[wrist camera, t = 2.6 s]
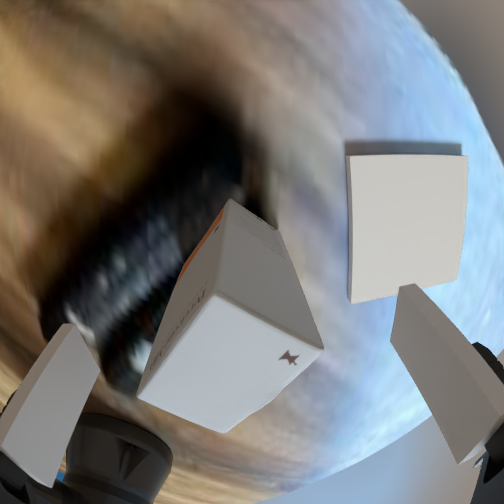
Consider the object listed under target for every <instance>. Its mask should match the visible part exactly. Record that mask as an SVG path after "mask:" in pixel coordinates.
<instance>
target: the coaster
mask: <svg viewBox="0 0 504 504" xmlns="http://www.w3.org/2000/svg"><path fill="white" fill-rule="evenodd" d="M345 157H346V171H347V189H348V217H349V275H348V300H349V302H350V303H351V304H354V303H360V302H365V301H369V300H374V299H379V298H384V297H388V296H393V295H397V294H398V290H399V286H404V285H409V284H413V283H415V284H416V285H417V286H418V287H419V288H420V289H423V288H427V287H431V286H435V285H439V284H443V283H447V282H451V281H454V280H457V275H458V270H459V264H460V258H461V252H462V245H463V238H464V229H465V220H466V208H467V192H468V156H463V155H445V154H368V155H346V156H345Z"/></svg>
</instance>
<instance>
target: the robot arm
mask: <svg viewBox="0 0 504 504" xmlns="http://www.w3.org/2000/svg"><path fill="white" fill-rule="evenodd" d="M390 342H391V343H392V345H393V347H394V348H395V350H396V352H397V353H398V355H399V357H400V358H401V360H402V362H403V363H404V365H405V367H406V368H407V370H408V372H409V373H410V375H411V377H412V379H413V380H414V382H415V384H416V385H417V387H418V389H419V391H420V393H421V394H422V396H423V398H424V400H425V402H426V403H427V405H428V407H429V409H430V411H431V413H432V414H433V416H434V418H435V420H436V422H437V424H438V426H439V427H440V430H441V432H442V433H443V435H444V437H445V439H446V441H447V443H448V445H449V447H450V449H451V451H452V454H453V455H454V458H455V460H456V462H457V464H458V465H459V464H461V463H463V462H464V461H466V460H468V459H470V458H472V457H473V456H475V455H476V454H477V453H478V452H479V451H480V450H481V448H483V447H484V446H485V448H486V450H487V451H486V452H485V453H484V454H483V455H482V456H481V457H480V458H479V459H478V460H477V461H476V463H475V465H474V468H476V467H477V466H478V465H479V464H480V463H481V462H482V465H481V467H480V469H481V470H480V474H479V477H478V481H477V484H476V488H475V491H474V494H473V497H472V500H471V503H470V504H504V369H503V365H502V364H501V363H500V362H499V361H497V358H496V357H495V356H494V354H493V353H492V352H491V351H490V350H489V349H488V348H486V347H485V346H483V345H482V344H480V343H478V342H476V343H474V344H471V343H470V342H469V341H468V340H467V339H466V337H465V336H464V335H463V334H462V333H461V332H460V331H459V329H458V328H457V327H456V326H455V325H454V324H453V323H452V322H451V321H450V319H449V318H448V317H447V316H446V315H445V314H444V313H443V312H442V311H441V310H440V309H439V307H438V306H437V305H436V304H435V303H434V302H433V301H432V300H431V299H430V298H429V297H428V296H427V295H426V294H425V293H424V292H423V291H422V290H421V289H420V288H419V287H418V286H417V285H416V284H415V283H413V284H409V285H404V286H399V290H398V297H397V304H396V311H395V317H394V322H393V328H392V333H391V338H390ZM99 372H100V369H99V367H98V366H97V364H96V362H95V360H94V359H93V357H92V355H91V353H90V351H89V349H88V347H87V346H86V344H85V342H84V340H83V338H82V336H81V334H80V332H79V330H78V328H77V326H76V324H62V326H61V327H60V328H59V330H58V331H57V332H56V334H55V335H54V336H53V338H52V339H51V341H50V342H49V343H48V345H47V346H46V347H45V349H44V350H43V352H42V353H41V355H40V356H39V357H38V359H37V360H36V362H35V363H34V365H33V366H32V368H31V369H30V371H29V372H28V374H27V375H26V377H25V378H24V380H23V381H22V383H21V384H20V386H19V388H18V389H17V390H16V391H15V392H14V393H13V394H12V395H11V397H10V398H9V400H8V402H7V403H6V404H7V405H5V407H4V408H3V410H2V413H0V504H153V502H154V499H155V497H156V496H157V494H158V492H159V491H160V489H161V487H162V486H163V484H164V482H165V480H166V479H167V477H168V475H169V473H170V471H171V467H172V460H173V455H172V452H171V450H170V449H169V448H168V447H167V446H166V445H165V444H164V443H163V442H162V441H161V440H159V439H158V438H156V437H155V436H153V435H152V434H150V433H148V432H146V431H144V430H142V429H140V428H138V427H136V426H134V425H131V424H129V423H126V422H124V421H121V420H118V419H115V418H112V417H108V416H104V415H99V414H92V413H82V414H81V412H82V409H83V407H84V405H85V403H86V400H87V398H88V396H89V394H90V392H91V389H92V387H93V385H94V383H95V381H96V379H97V377H98V375H99ZM65 451H66V472H65V475H64V478H63V481H62V482H60V481H59V480H57V479H56V475H57V472H58V469H59V467H60V464H61V461H62V459H63V456H64V453H65Z"/></svg>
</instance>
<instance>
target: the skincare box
mask: <svg viewBox="0 0 504 504" xmlns="http://www.w3.org/2000/svg"><path fill="white" fill-rule="evenodd" d="M323 351H324V345H323V343H322V340H321V338H320V335H319V332H318V330H317V327H316V325H315V322H314V319H313V316H312V314H311V311H310V308H309V306H308V303H307V300H306V298H305V295H304V293H303V290H302V287H301V285H300V282H299V279H298V277H297V274H296V271H295V269H294V267H293V264H292V261H291V259H290V256H289V254H288V251H287V249H286V246H285V244H284V241H283V239H282V236H281V234H280V232H279V231H277V230H276V229H274V228H273V227H272V226H270V225H269V224H267V223H266V222H265V221H263V220H262V219H260V218H259V217H257V216H256V215H254V214H253V213H251V212H250V211H248V210H247V209H245V208H244V207H243V206H241V205H240V204H238V203H237V202H235V201H234V200H233V199H229V200H228V201H227V202H226V204H225V205H224V207H223V209H222V210H221V212H220V213H219V214H218V216H217V217H216V219H215V220H214V222H213V223H212V225H211V227H210V228H209V230H208V231H207V233H206V234H205V235H204V237H203V238H202V240H201V241H200V242H199V244H198V245H197V247H196V248H195V250H194V251H193V252H192V254H191V255H190V257H189V258H188V259H187V261H186V262H185V264H184V266H183V268H182V271H181V273H180V276H179V278H178V280H177V283H176V285H175V288H174V290H173V293H172V296H171V298H170V301H169V303H168V306H167V308H166V311H165V314H164V316H163V319H162V322H161V324H160V327H159V330H158V333H157V335H156V338H155V341H154V344H153V346H152V349H151V352H150V355H149V358H148V361H147V364H146V367H145V370H144V373H143V375H142V379H141V382H140V385H139V388H138V391H137V394H136V396H137V397H138V398H139V399H141V400H144V401H146V402H148V403H150V404H152V405H154V406H156V407H158V408H160V409H163V410H165V411H167V412H170V413H172V414H174V415H176V416H179V417H181V418H183V419H186V420H188V421H191V422H193V423H196V424H198V425H201V426H203V427H206V428H209V429H211V430H214V431H217V432H219V433H226V432H227V431H229V430H230V429H232V428H233V427H234V426H236V425H237V424H238V423H240V422H241V421H243V420H244V419H245V418H246V417H248V416H249V415H250V414H252V413H254V412H256V411H258V410H260V409H261V408H263V407H264V406H265V405H266V404H268V403H269V402H270V401H272V400H273V399H274V398H275V397H276V396H277V395H278V394H279V392H280V391H281V390H282V389H283V388H284V387H285V386H287V385H288V384H289V383H290V382H291V381H292V380H294V379H295V378H296V377H297V376H298V375H299V374H300V373H301V372H302V371H303V370H305V369H306V368H307V367H308V366H309V365H310V364H311V363H312V362H313V361H314V360H315V359H316V358H318V357H319V356H320V355H321V354H322V353H323Z"/></svg>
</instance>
